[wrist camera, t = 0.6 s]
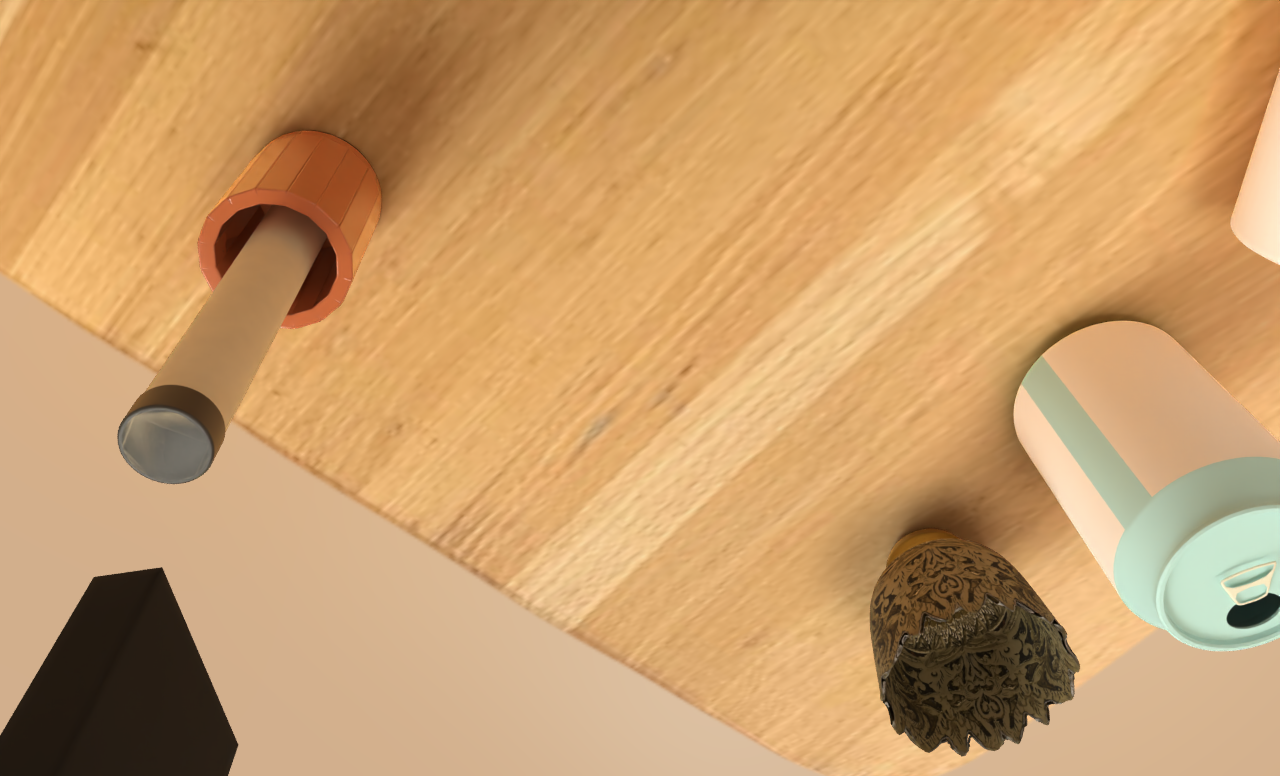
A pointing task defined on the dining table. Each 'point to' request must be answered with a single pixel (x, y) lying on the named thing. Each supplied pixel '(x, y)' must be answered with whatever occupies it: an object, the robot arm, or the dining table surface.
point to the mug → (1262, 188)
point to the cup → (964, 645)
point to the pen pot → (310, 184)
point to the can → (1160, 480)
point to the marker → (220, 353)
